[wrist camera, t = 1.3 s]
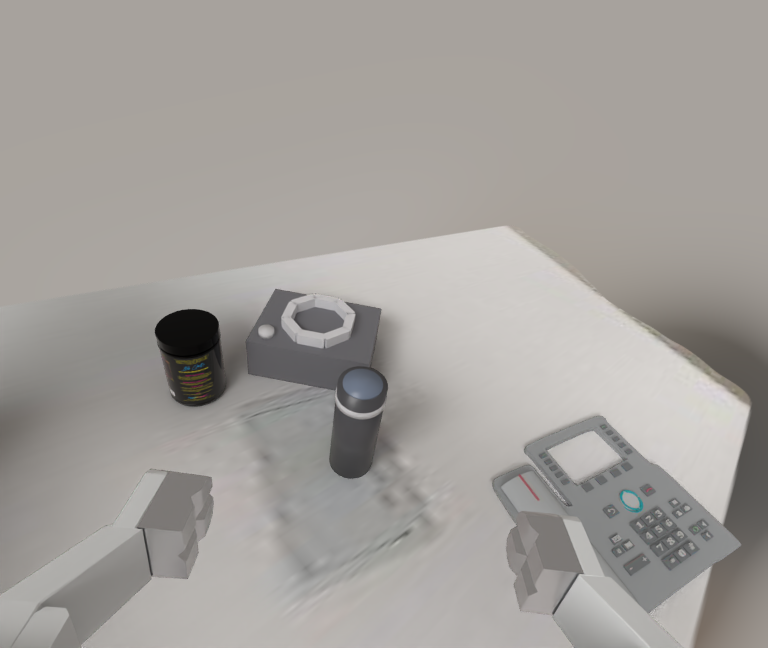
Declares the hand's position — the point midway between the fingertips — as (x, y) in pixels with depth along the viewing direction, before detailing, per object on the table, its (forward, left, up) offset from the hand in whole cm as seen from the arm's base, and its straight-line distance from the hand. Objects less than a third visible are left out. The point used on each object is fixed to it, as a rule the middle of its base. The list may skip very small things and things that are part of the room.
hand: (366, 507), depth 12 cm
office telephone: (+28, +24, -35) cm, 51 cm away
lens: (-2, +24, -34) cm, 42 cm away
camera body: (-10, +40, -34) cm, 53 cm away
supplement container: (-23, +30, -34) cm, 51 cm away
